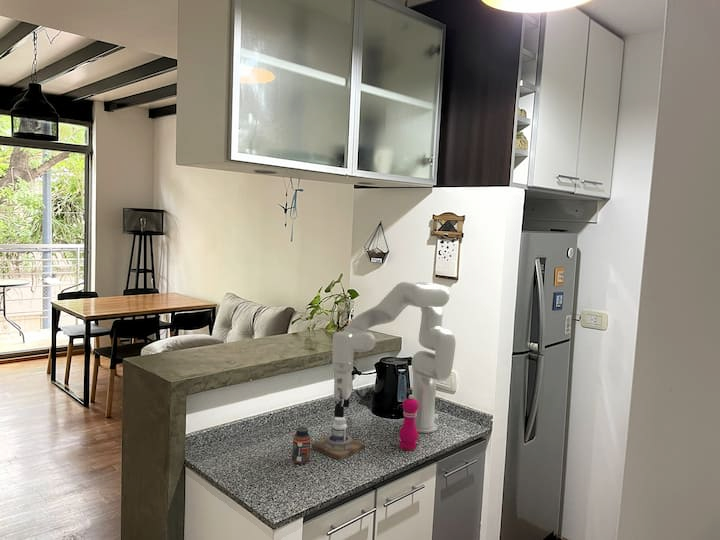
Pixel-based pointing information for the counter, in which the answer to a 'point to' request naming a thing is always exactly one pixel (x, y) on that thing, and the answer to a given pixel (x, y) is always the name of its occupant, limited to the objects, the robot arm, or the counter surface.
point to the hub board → (338, 452)
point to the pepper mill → (409, 424)
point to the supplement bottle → (301, 446)
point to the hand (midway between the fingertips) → (341, 411)
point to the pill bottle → (339, 430)
